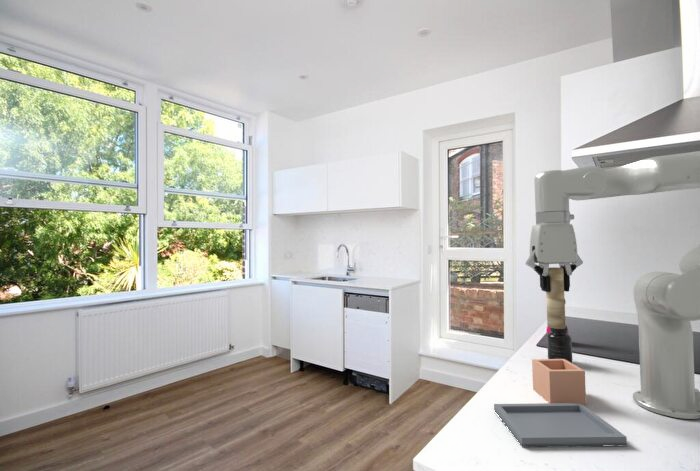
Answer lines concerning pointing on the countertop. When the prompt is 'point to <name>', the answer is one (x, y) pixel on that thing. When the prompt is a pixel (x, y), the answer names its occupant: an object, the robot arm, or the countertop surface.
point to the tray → (558, 425)
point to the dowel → (556, 299)
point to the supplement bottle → (559, 344)
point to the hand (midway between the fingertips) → (555, 290)
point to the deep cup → (559, 381)
